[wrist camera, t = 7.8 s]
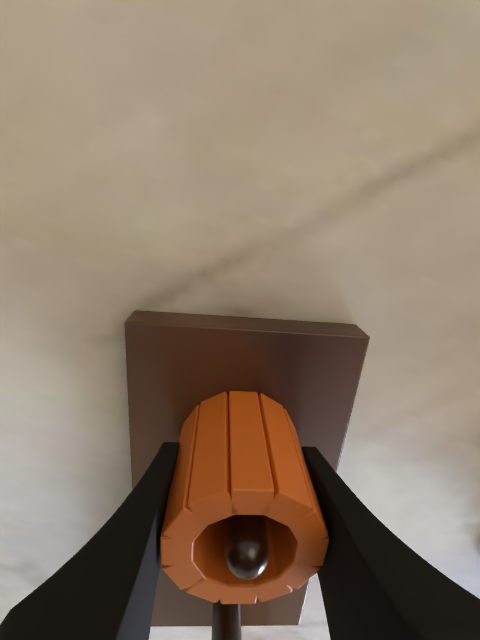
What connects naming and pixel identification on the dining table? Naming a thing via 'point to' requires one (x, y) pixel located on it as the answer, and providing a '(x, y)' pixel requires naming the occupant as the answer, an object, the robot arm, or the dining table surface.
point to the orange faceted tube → (241, 500)
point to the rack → (223, 376)
